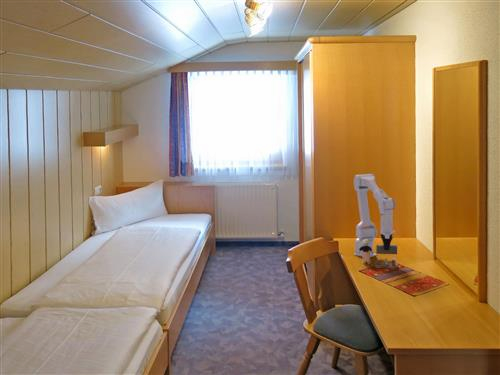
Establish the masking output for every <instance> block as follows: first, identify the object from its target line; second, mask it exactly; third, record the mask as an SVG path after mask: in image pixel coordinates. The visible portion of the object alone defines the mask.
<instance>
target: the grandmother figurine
mask: <svg viewBox="0 0 500 375" xmlns="http://www.w3.org/2000/svg"><path fill="white" fill-rule="evenodd" d="M362 243H363V244H364V246H362V247H360V248H359V251H358V253H360V251H362V250H363V252H362V257H361V258H362V264H363V265H366V264H368V265H370V264H372V261H371V257H370V252H369V250H370V251H371V253H372V254H373V253H374V250H373V251H372V249H371V247H369V246H367V245H368V244H369V240H368V239H364V240H363V242H362Z"/></svg>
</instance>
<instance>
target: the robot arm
mask: <svg viewBox="0 0 500 375" xmlns="http://www.w3.org/2000/svg"><path fill="white" fill-rule="evenodd" d="M353 187H354V191H356V195H357V201H358V202H357V203H358V204H357V205H358V210H359V218H360V222H359V223H358V224H356V226H355V227H356V228H355V229H356V231H355V235H356V239H355V243H354V254H353V255H354V256H357V257H361V258H362V252H363V250H362V251H360V253H358V251H359V248H360V247H362V246H364V244H363V243H362V242H363V240H364V239H368V240H369V244H368V245H367V246H369V247H371V249H372V251H373V254H372V253H371V251H370V250H369V252H370V258H372V257H375V256H377V255H378V254H376V253H374V240H375V239H376V238H377V235H378V231H377V227H376V224H375V223H374V222H373V221H371V217H370V209H369V201H368V199H369V198H368V194H367V193H368V191H371V192H372V193H373V195H372V196H373V198H374V199H375V202H377V203H378V204H377V205H378V209H379V214H380V230H379V231H380V238H381V241H382V245H384V250H389V248H390V245H391V243H392V240H393V238H394V237H393V234H396V231H395V230H394V229H393V226H394V225H393V223H394V222H393V218H394V216H393V212H394V210H395V208H396V202H395V200H394V198H392V197H389V196H388V195H387V193H386V192H385V191H384V189H381V188H380V187H379V186H378V185H377V183H376V177H375V175H374V174H373V173H368V174H355V176H354V178H353Z"/></svg>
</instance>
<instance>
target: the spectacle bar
mask: <svg viewBox="0 0 500 375" xmlns="http://www.w3.org/2000/svg"><path fill="white" fill-rule="evenodd" d="M375 247H376V251H375V252H376V253H375V254H377V255H398V245H397V244H390V248H389V250H384V245H383V244H376V246H375Z"/></svg>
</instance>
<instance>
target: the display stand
mask: <svg viewBox="0 0 500 375" xmlns="http://www.w3.org/2000/svg"><path fill="white" fill-rule="evenodd" d="M388 260H389V259H388V257H386V258H385V257H384V262H382V257H377V262H374V268H375V269H399V266H398V262H396V257H391V262H389V261H388Z"/></svg>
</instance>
